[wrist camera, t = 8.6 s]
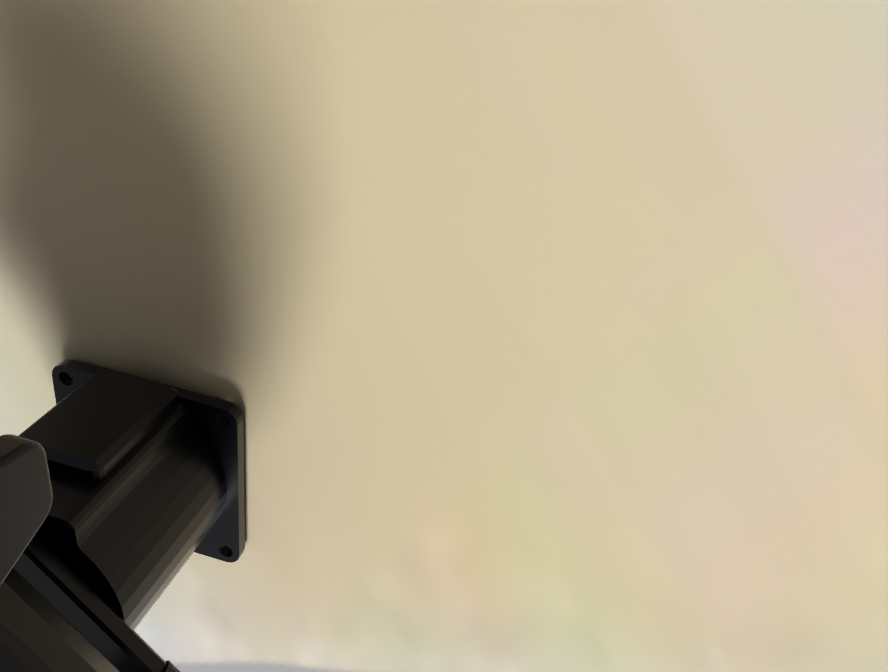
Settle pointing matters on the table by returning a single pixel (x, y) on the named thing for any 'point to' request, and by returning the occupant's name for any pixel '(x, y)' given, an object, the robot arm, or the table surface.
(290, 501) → the table surface
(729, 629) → the table surface
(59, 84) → the table surface
